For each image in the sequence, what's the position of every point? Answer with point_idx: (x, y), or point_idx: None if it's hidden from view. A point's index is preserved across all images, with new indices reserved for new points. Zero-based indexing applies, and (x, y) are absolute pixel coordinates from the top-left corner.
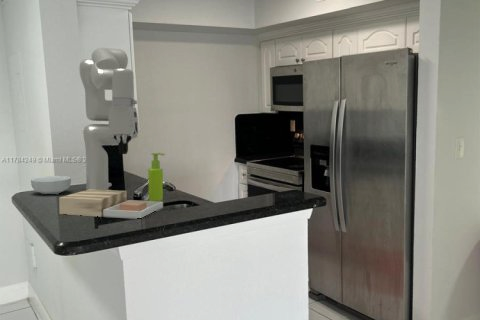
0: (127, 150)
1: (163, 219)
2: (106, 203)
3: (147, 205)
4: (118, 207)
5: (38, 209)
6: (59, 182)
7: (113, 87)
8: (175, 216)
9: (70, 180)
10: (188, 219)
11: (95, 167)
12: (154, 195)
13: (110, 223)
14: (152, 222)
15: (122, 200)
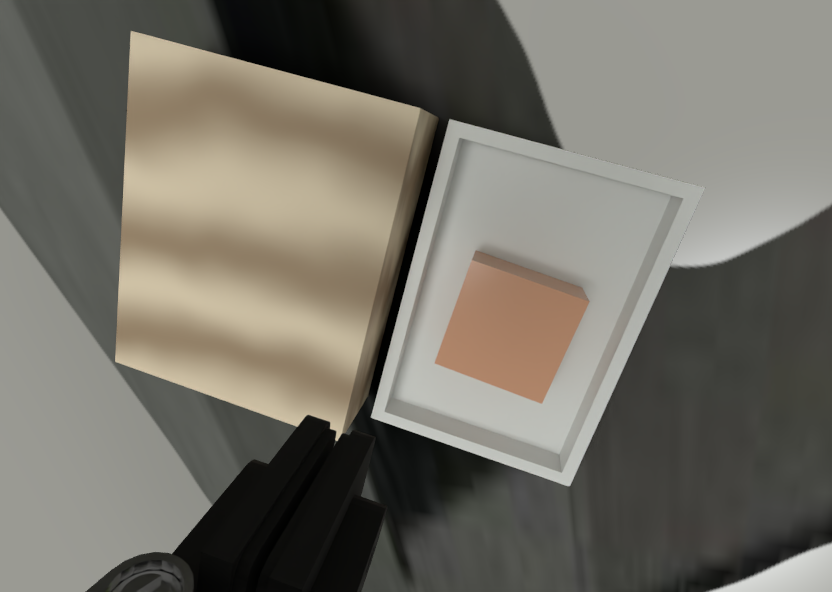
0: (381, 526)
1: (681, 479)
2: (363, 372)
3: (582, 172)
4: (419, 290)
5: (37, 214)
6: None
7: None
8: (755, 422)
9: None
10: (823, 496)
11: None
12: None
13: (441, 517)
14: (624, 527)
15: (415, 178)
